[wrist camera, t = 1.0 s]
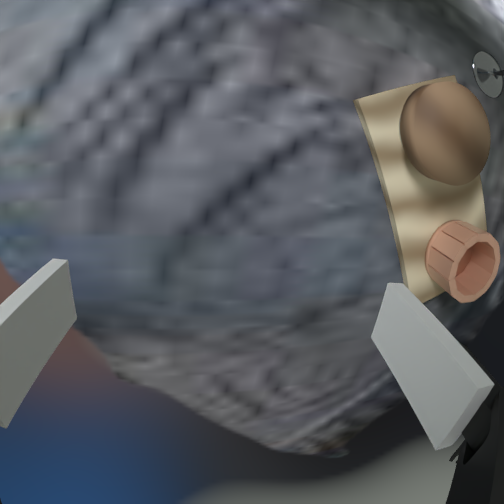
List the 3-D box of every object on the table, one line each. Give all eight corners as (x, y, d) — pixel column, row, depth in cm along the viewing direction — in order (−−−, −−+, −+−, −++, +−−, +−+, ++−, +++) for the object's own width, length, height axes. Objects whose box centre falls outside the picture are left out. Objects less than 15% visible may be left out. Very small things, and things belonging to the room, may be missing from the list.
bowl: (448, 206, 35) (477, 219, 29) (481, 240, 37) (508, 255, 31) (412, 264, 37) (437, 285, 31) (449, 291, 39) (472, 312, 33)
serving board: (352, 100, 31) (357, 99, 30) (448, 76, 30) (454, 75, 28) (407, 303, 41) (411, 308, 39) (482, 262, 40) (488, 266, 38)
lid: (425, 64, 26) (440, 60, 23) (485, 126, 28) (501, 127, 25) (382, 142, 29) (396, 143, 26) (448, 199, 31) (464, 205, 28)
